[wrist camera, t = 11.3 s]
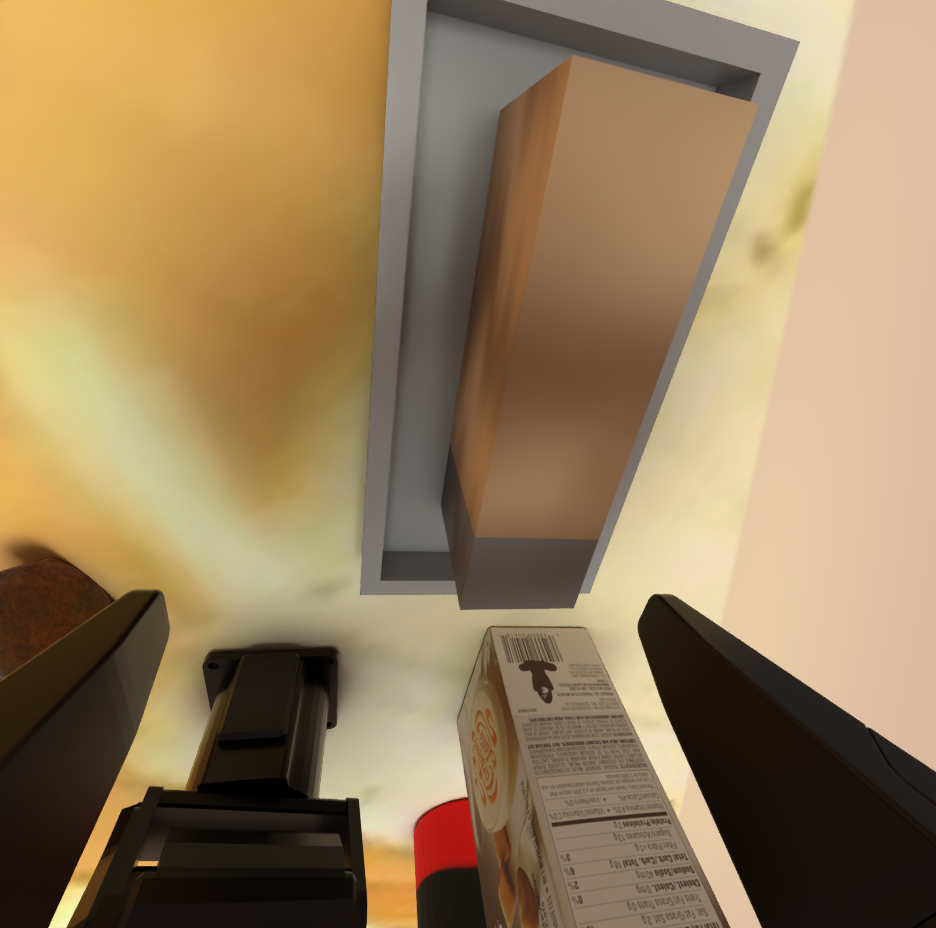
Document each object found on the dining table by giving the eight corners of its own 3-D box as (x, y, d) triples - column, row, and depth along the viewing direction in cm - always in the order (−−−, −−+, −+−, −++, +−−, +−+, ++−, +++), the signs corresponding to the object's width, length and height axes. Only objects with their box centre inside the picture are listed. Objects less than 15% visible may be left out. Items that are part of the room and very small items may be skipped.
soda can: (448, 789, 34) (476, 1047, 23) (525, 803, 37) (580, 1037, 26) (395, 838, 36) (399, 1090, 26) (471, 847, 39) (502, 1076, 29)
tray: (570, 558, 24) (589, 593, 22) (362, 555, 21) (359, 594, 19) (737, 65, 14) (799, 41, 12) (394, -32, 12) (396, -83, 10)
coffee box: (546, 718, 31) (674, 1130, 17) (454, 721, 29) (515, 1176, 16) (589, 624, 27) (806, 1072, 13) (485, 622, 25) (605, 1127, 12)
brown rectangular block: (500, 110, 13) (572, 55, 8) (623, 138, 14) (759, 104, 9) (440, 504, 20) (460, 609, 15) (526, 507, 21) (573, 608, 16)
